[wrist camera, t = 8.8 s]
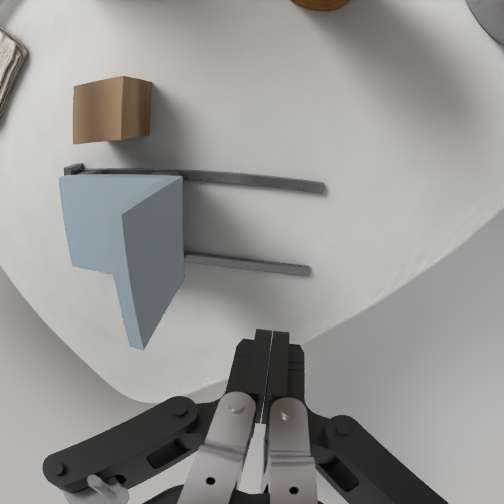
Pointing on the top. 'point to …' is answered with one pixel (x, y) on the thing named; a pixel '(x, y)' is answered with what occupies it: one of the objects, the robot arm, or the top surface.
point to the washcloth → (9, 64)
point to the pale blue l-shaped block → (129, 239)
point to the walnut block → (111, 110)
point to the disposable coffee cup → (321, 4)
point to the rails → (226, 178)
